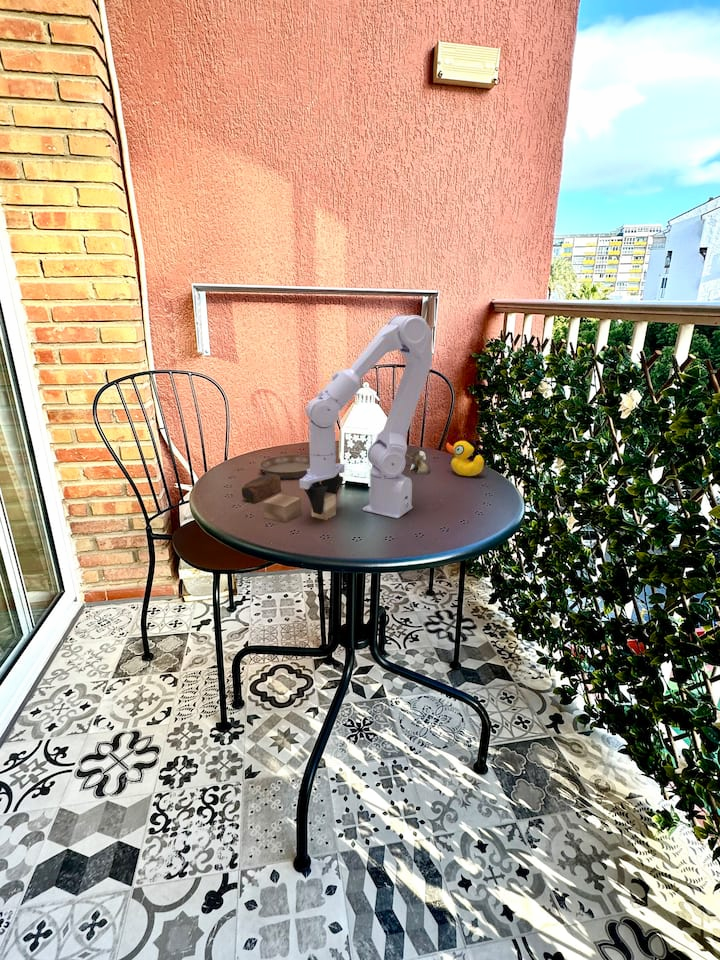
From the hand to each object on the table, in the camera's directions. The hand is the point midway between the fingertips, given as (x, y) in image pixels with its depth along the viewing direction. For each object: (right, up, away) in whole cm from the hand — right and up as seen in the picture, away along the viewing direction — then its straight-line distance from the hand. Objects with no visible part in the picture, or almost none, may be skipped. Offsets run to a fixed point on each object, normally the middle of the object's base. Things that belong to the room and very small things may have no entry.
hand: (323, 509), depth 112 cm
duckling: (+38, +8, +30) cm, 49 cm away
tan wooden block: (-9, -1, 0) cm, 10 cm away
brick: (-16, +2, +12) cm, 21 cm away
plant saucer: (-12, +9, +32) cm, 36 cm away
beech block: (0, -1, 0) cm, 1 cm away
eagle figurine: (+25, +10, +34) cm, 43 cm away
